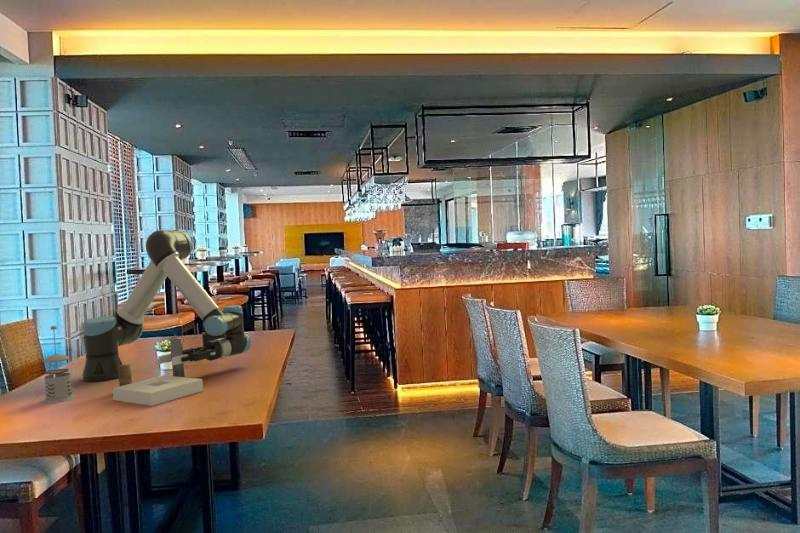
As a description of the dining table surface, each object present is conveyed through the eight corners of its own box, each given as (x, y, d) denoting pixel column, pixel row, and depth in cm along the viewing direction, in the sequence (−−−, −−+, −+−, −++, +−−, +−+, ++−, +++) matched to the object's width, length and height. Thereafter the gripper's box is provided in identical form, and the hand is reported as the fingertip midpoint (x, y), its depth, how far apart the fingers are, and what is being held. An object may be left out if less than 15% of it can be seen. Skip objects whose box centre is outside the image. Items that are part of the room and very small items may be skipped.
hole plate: (113, 400, 211) (112, 388, 211) (165, 386, 227) (164, 375, 227) (151, 405, 200) (150, 393, 200) (203, 390, 217) (202, 379, 216)
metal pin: (171, 383, 232) (167, 339, 231) (180, 381, 235) (177, 337, 235) (178, 384, 230) (174, 340, 229) (187, 381, 233) (184, 338, 232)
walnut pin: (117, 392, 223) (115, 366, 222) (127, 389, 226) (125, 364, 226) (124, 392, 221) (122, 367, 220) (134, 390, 224) (133, 364, 224)
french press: (46, 404, 210) (40, 328, 209) (38, 399, 219) (32, 326, 218) (79, 398, 216) (73, 324, 215) (69, 393, 225) (64, 322, 224)
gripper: (234, 360, 242) (184, 373, 223) (199, 357, 253) (149, 369, 233) (233, 340, 242) (183, 351, 222) (198, 338, 252) (147, 349, 233)
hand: (165, 360), depth 228 cm, fingers open, 7 cm apart
